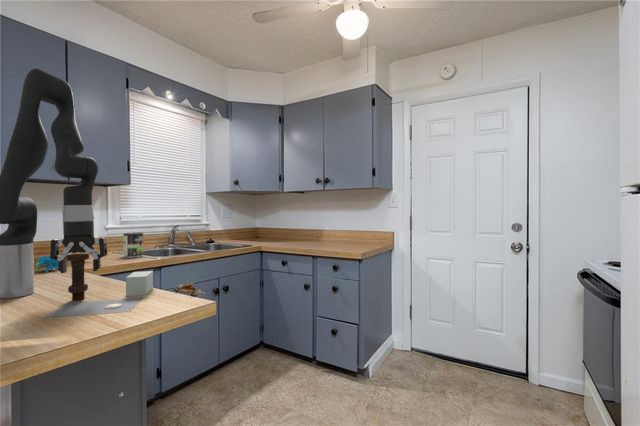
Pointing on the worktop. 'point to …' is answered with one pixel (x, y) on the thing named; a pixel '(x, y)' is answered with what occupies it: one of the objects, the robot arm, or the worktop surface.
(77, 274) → the bolt
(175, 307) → the worktop surface
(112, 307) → the board
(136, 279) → the pale green block
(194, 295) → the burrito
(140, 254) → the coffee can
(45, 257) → the blue flower cluster
